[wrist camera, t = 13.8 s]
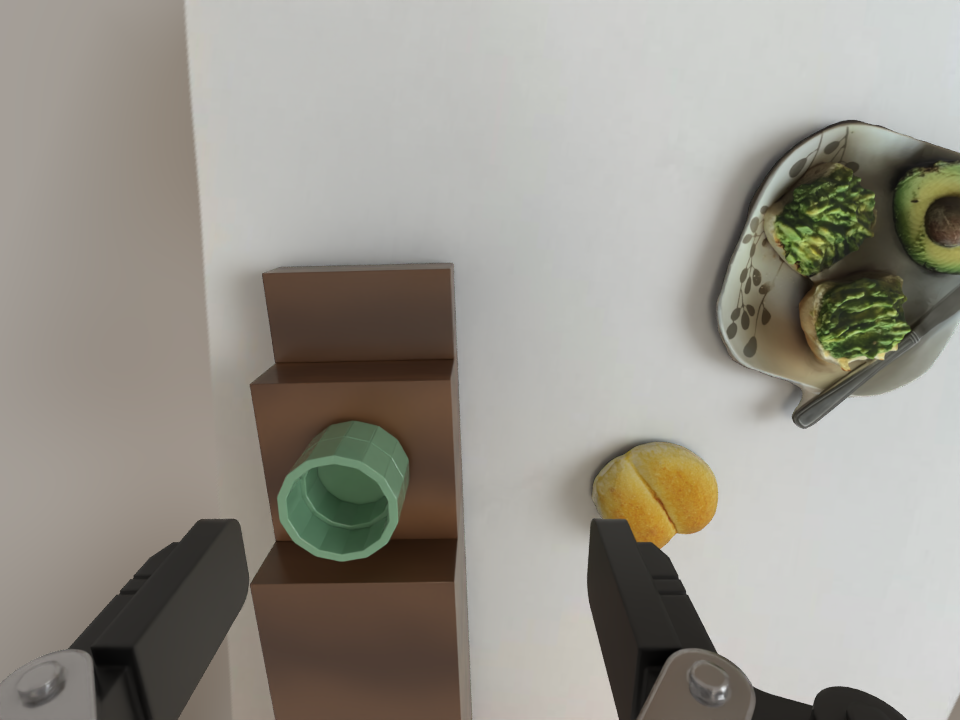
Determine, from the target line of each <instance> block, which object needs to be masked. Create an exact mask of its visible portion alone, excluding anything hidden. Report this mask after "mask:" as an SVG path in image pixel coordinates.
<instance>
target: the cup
mask: <svg viewBox="0 0 960 720" xmlns="http://www.w3.org/2000/svg"><path fill="white" fill-rule="evenodd" d="M408 484H409V459H408V457H407V455H406V454H405V452H404V450H403V448H402V446H401V445H400V443H399V441H398V440H397V439H396V438H395V437H393V436H392V435H391V434H389V433H388V432H386V431H385V430H384V429H382V428H381V427H380V426H377V425H373V424H368V423H364V422H359V421H348V422H343V423H338V424H333V425H330V426H328V427H327V428H326V429H324V430H323V431H322V432H320V433H319V434H318V435H316V436H315V437H314V438H313V439H312V440H311V442H310V443H309V445H308V446H307V447H306V449H305V450H304V452H303V453H302V454H301V456H300V457H299V459H298V460H297V461H296V463H295V464H294V466H293V467H292V468H291V470H290V471H289V473H288V474H287V476H286V477H285V480H284V482H283V484H282V487H281V489H280V491H279V493H278V496H277V502H278V511H279V520H280V522H281V524H282V525H283V527H284V528H285V530H286V531H287V533H288V534H289V536H290V537H291V539H292V540H293V542H294V543H296V544H297V545H299V546H300V547H302V548H303V549H305V550H307V551H308V552H310V553H311V554H313V555H314V556H316V557H321V558H326V559H330V560H335V561H340V562H341V561H342V562H344V561H350V560H355V559H361V558H366V557H368V556H370V555H371V554H373V553H374V552H376V551H377V550H379V549H380V548H382V547H383V546H385V545H386V544H387V543H388V542H389V540H390V538H391V536H392V534H393V532H394V530H395V528H396V526H397V524H398V521H399V518H400V514H401V510H402V506H403V503H404V499H405V495H406V491H407V488H408Z"/></svg>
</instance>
